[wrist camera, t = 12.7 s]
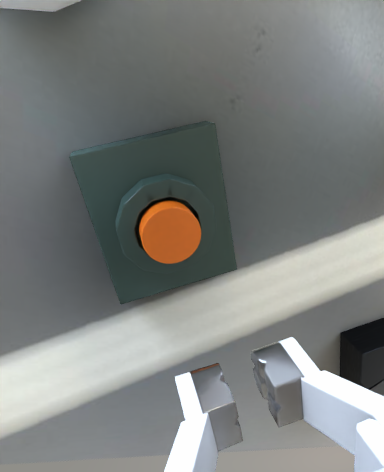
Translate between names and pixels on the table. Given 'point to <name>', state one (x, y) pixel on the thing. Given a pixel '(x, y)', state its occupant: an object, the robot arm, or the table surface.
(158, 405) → the table surface
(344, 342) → the rotary switch base
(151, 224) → the button
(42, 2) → the cup
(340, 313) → the table surface
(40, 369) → the table surface
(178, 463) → the robot arm
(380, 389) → the rotary switch knob
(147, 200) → the block
